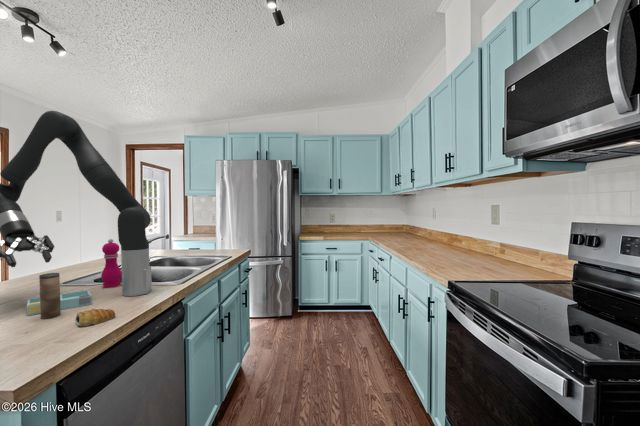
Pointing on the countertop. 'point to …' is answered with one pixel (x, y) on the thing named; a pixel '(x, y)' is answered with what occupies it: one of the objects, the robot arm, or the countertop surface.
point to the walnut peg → (50, 295)
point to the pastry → (94, 316)
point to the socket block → (62, 301)
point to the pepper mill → (111, 265)
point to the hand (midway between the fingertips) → (32, 263)
